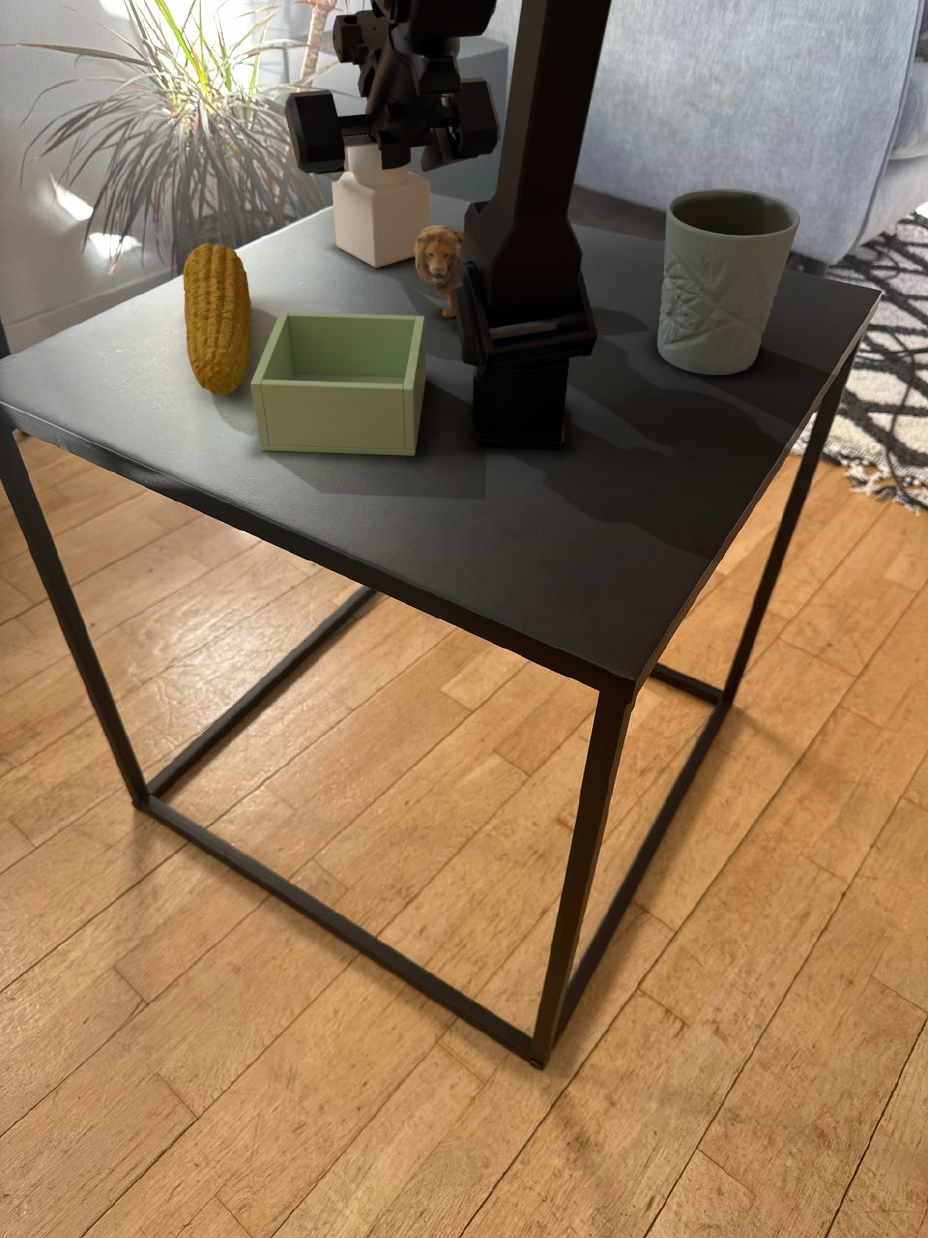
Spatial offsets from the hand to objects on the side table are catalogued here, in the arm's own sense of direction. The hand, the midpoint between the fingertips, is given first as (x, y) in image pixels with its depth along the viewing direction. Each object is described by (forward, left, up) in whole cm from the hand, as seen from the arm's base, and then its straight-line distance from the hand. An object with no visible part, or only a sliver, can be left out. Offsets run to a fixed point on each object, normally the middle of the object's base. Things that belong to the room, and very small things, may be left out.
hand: (378, 171), depth 92 cm
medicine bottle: (0, +1, -8) cm, 8 cm away
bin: (-1, +33, -7) cm, 33 cm away
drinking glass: (-30, +21, -8) cm, 37 cm away
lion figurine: (-11, +16, -8) cm, 21 cm away
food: (+11, +23, -8) cm, 26 cm away
